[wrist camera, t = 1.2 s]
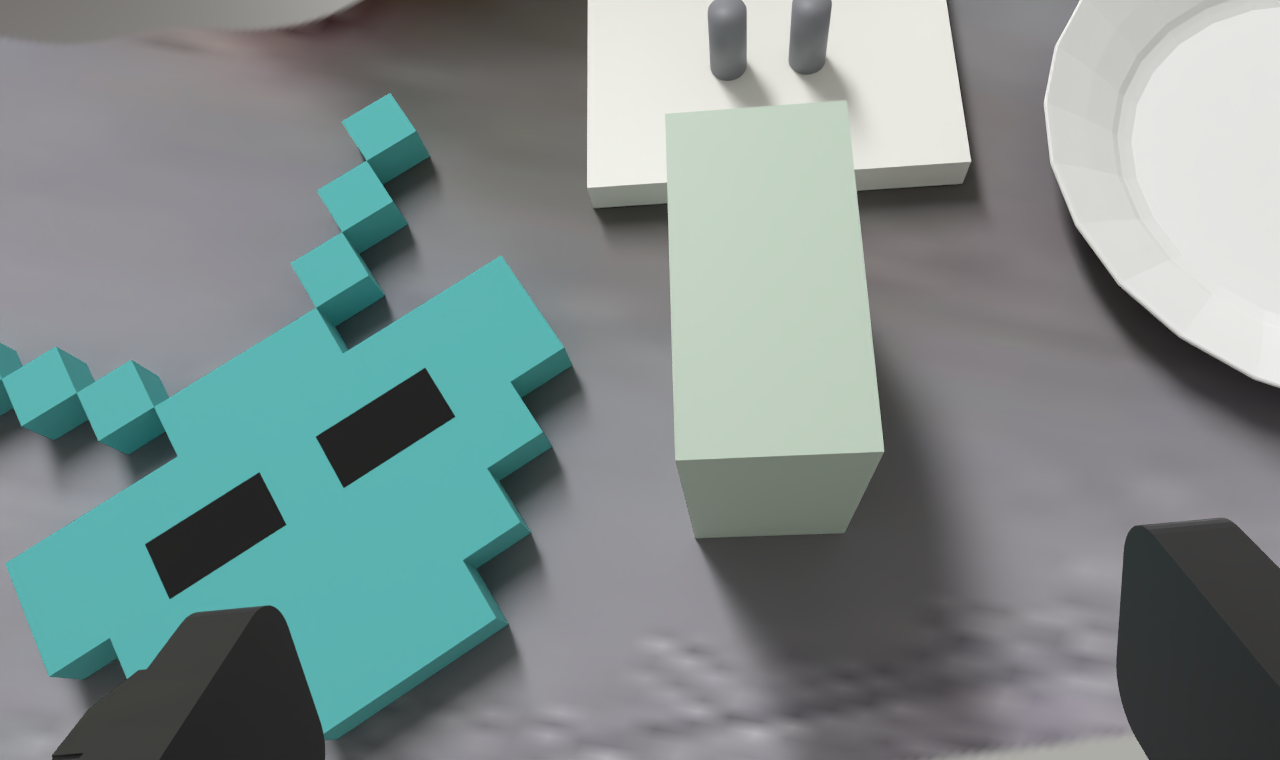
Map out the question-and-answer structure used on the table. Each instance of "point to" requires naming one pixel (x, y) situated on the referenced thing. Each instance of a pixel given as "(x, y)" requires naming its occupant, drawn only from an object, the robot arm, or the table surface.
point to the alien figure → (306, 471)
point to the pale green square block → (769, 321)
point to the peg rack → (773, 83)
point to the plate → (1178, 163)
